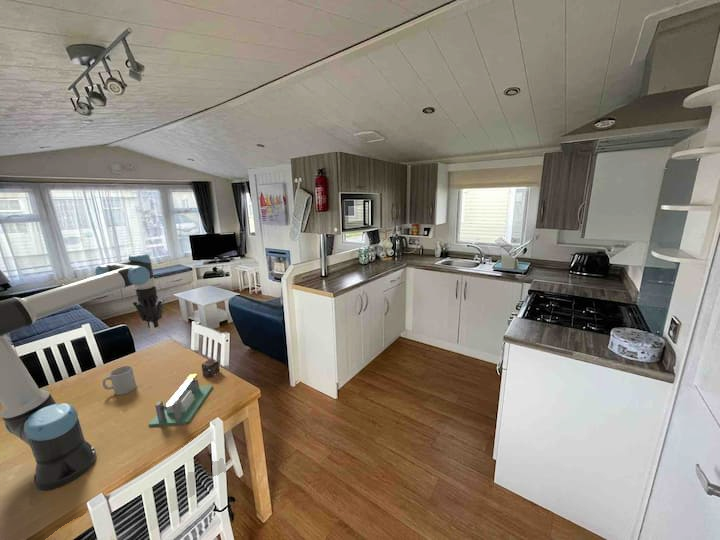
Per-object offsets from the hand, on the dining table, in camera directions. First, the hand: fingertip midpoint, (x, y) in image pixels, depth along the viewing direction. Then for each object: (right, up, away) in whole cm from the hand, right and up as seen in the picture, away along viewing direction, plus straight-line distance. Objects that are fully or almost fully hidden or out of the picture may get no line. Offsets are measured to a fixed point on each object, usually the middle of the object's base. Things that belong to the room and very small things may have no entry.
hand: (155, 333), depth 134 cm
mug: (-21, -31, +5) cm, 37 cm away
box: (+18, -27, +18) cm, 37 cm away
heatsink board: (+17, -32, -5) cm, 37 cm away
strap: (+17, -26, -6) cm, 32 cm away
